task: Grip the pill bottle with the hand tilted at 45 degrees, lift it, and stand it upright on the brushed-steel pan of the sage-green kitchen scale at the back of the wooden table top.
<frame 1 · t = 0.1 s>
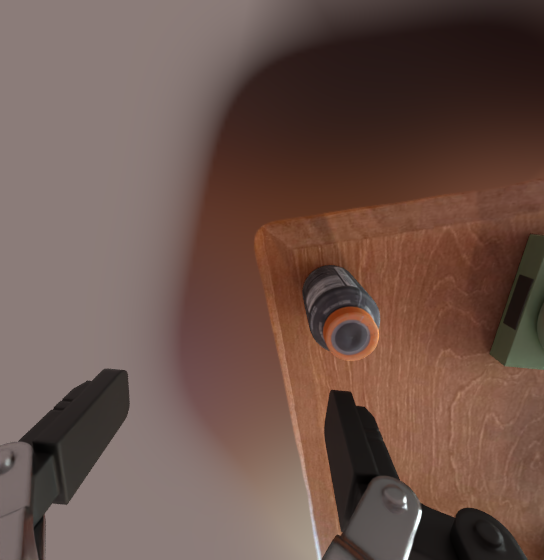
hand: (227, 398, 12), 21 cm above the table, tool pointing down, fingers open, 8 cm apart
pill bottle: (328, 289, 33), on the table
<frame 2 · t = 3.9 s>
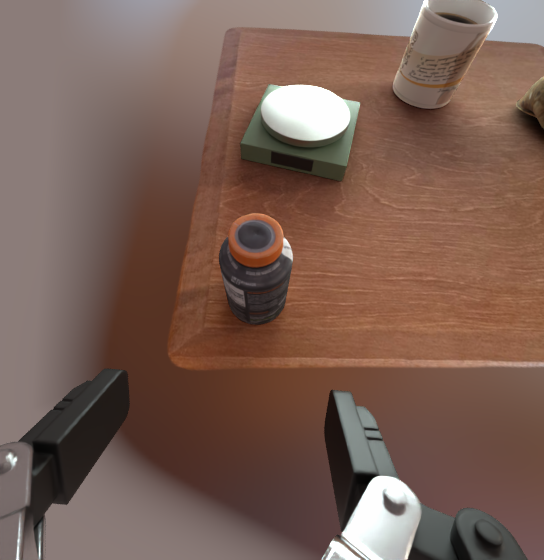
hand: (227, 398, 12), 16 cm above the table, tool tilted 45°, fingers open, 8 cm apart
seashell: (541, 126, 47), on the table
pill bottle: (256, 299, 31), on the table
scale: (301, 137, 43), on the table
mug: (422, 89, 51), on the table
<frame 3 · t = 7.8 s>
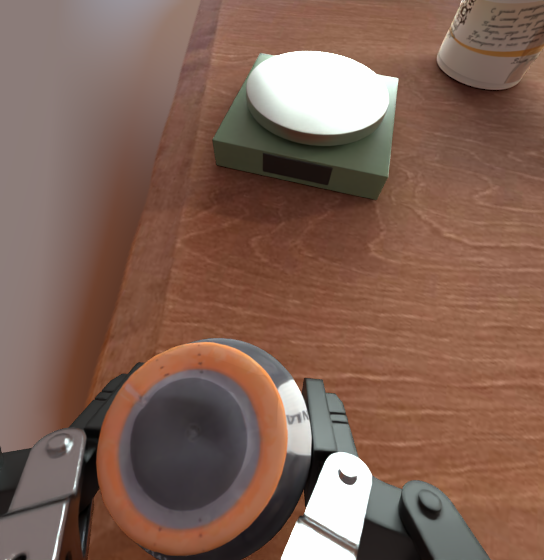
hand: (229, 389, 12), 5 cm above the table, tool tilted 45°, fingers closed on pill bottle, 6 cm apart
pill bottle: (233, 437, 16), on the table, touching gripper
scale: (310, 131, 28), on the table
mug: (477, 64, 36), on the table
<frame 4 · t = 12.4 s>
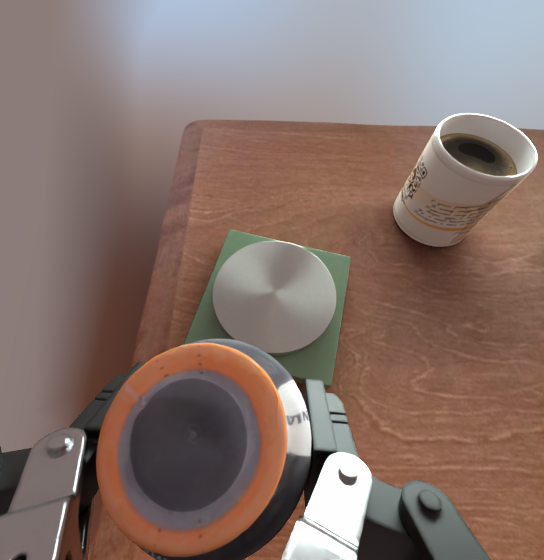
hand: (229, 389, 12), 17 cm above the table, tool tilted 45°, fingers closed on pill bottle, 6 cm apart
pill bottle: (233, 438, 16), point 12 cm above the table, touching gripper
scale: (273, 307, 32), on the table
mug: (430, 211, 40), on the table
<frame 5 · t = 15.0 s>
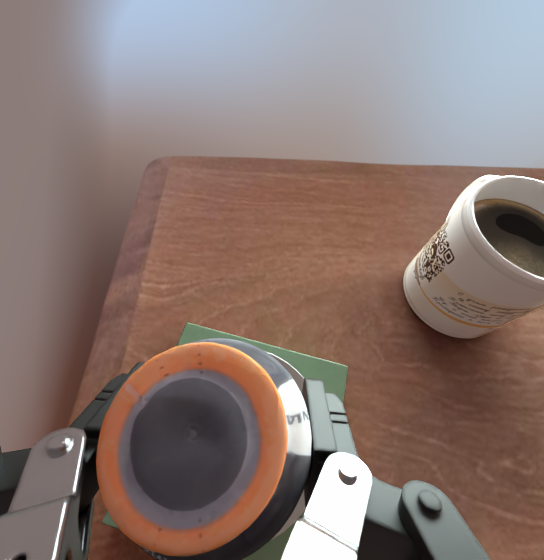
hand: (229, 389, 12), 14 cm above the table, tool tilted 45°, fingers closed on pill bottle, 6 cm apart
pill bottle: (233, 437, 16), point 8 cm above the table, touching gripper
scale: (241, 435, 24), on the table
mug: (450, 284, 31), on the table
when the fingers open (9 cm above the table, at t = 16.9 s): pill bottle stays where it is, resting on scale.
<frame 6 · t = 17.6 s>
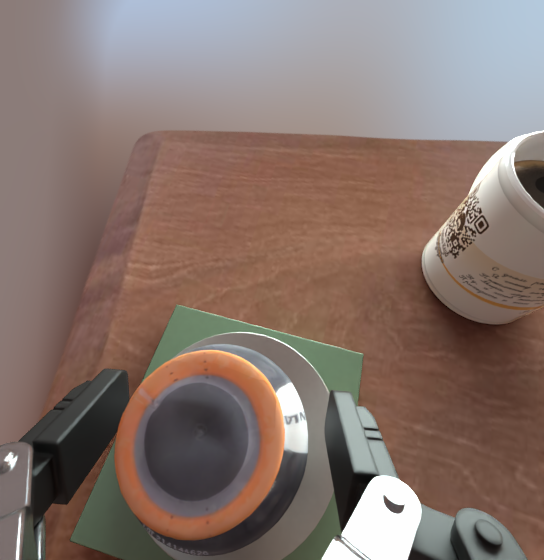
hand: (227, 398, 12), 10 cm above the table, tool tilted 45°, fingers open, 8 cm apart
pill bottle: (236, 436, 17), point 4 cm above the table, touching scale
scale: (239, 434, 20), on the table
mug: (475, 265, 28), on the table
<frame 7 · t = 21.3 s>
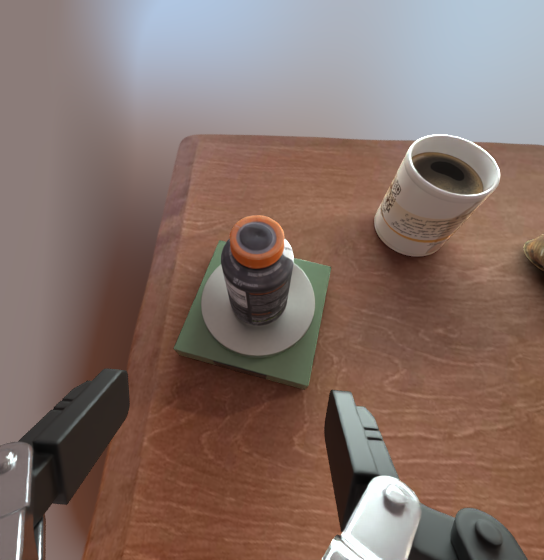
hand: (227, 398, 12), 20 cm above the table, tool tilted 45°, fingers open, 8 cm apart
pill bottle: (258, 300, 31), point 4 cm above the table, touching scale
scale: (258, 313, 35), on the table
mug: (409, 222, 42), on the table
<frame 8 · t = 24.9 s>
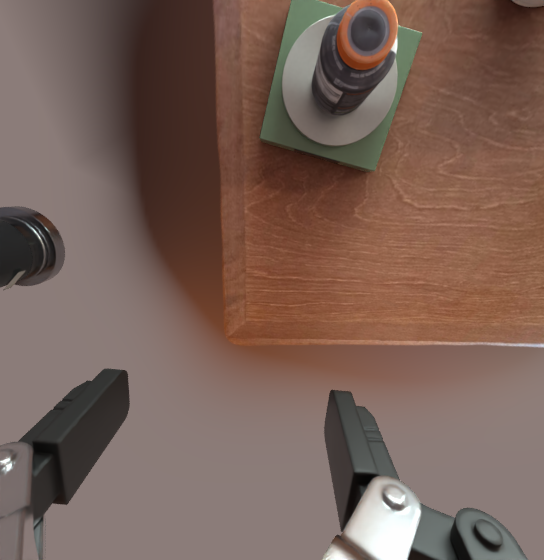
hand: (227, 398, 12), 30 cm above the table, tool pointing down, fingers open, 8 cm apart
pill bottle: (339, 85, 31), point 4 cm above the table, touching scale
scale: (332, 95, 35), on the table
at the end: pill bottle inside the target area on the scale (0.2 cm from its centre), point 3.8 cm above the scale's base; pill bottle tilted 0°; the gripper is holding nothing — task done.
